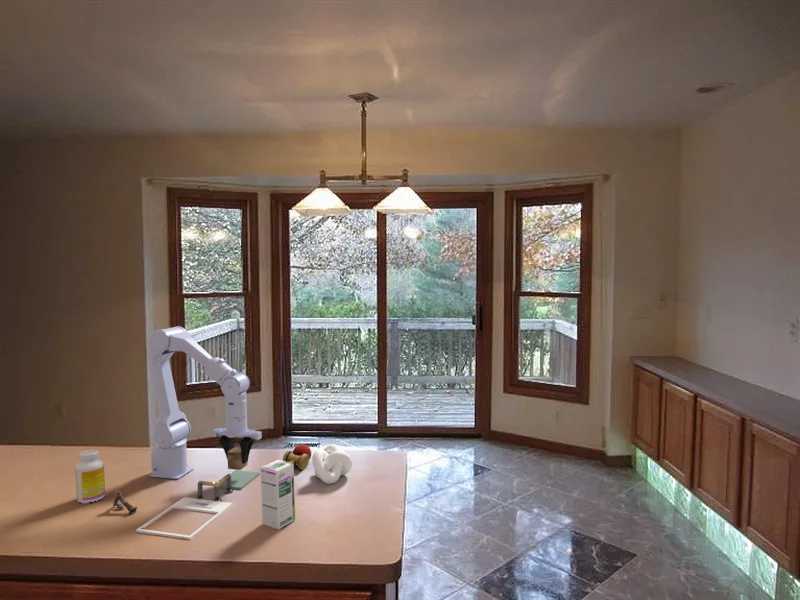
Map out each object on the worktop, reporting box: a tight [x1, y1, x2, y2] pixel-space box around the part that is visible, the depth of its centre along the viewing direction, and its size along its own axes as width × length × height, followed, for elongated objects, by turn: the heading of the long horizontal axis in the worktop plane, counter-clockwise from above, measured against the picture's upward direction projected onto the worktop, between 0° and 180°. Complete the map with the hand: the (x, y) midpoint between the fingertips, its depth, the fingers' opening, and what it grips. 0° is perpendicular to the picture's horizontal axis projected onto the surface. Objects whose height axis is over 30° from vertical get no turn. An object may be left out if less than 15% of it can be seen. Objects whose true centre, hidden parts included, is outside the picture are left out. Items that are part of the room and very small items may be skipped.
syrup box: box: [259, 459, 296, 530], centre depth 130 cm, size 6×6×14 cm
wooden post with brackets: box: [112, 490, 138, 515], centre depth 137 cm, size 2×8×4 cm, turn 61°
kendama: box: [282, 444, 312, 471], centre depth 163 cm, size 8×6×18 cm
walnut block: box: [227, 446, 248, 471], centre depth 155 cm, size 4×4×5 cm
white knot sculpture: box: [311, 443, 353, 485], centre depth 156 cm, size 11×12×9 cm
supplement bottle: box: [74, 449, 106, 504], centre depth 143 cm, size 7×7×13 cm
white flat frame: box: [135, 496, 234, 540], centre depth 133 cm, size 15×1×18 cm
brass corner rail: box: [195, 473, 234, 502], centre depth 145 cm, size 7×8×5 cm
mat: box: [219, 469, 261, 490], centre depth 155 cm, size 8×11×1 cm
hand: (237, 461), depth 155 cm, fingers closed on walnut block, 4 cm apart
